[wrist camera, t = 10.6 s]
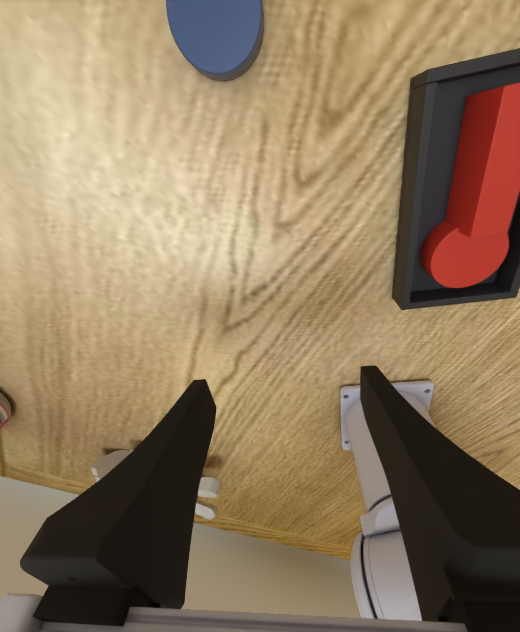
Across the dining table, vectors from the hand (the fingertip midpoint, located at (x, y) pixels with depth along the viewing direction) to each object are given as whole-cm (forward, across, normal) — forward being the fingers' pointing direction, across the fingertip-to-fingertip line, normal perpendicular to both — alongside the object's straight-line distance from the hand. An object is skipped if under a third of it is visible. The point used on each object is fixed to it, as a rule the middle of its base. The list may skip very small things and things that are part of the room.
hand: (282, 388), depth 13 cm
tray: (+9, -12, -5) cm, 16 cm away
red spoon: (+9, -12, -5) cm, 15 cm away
